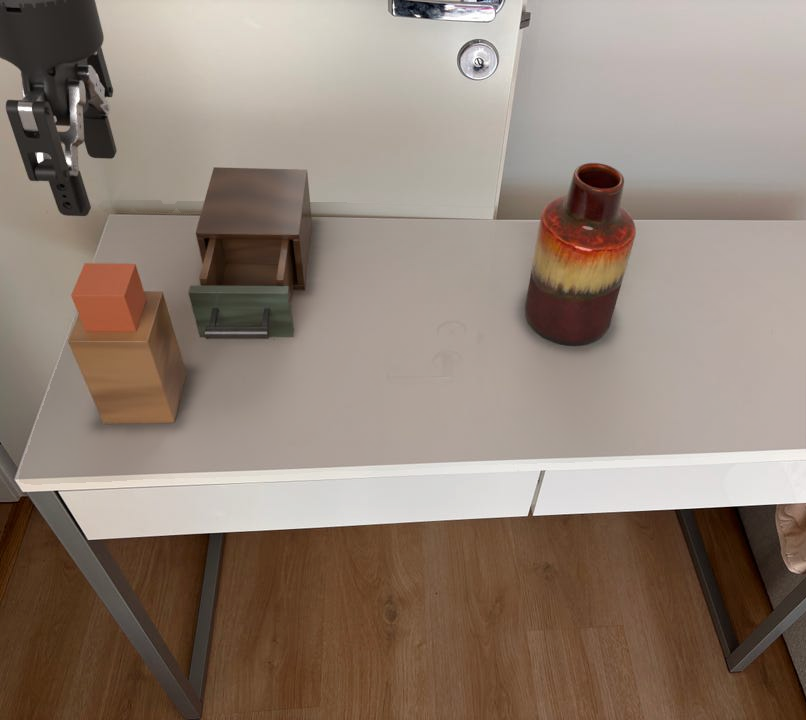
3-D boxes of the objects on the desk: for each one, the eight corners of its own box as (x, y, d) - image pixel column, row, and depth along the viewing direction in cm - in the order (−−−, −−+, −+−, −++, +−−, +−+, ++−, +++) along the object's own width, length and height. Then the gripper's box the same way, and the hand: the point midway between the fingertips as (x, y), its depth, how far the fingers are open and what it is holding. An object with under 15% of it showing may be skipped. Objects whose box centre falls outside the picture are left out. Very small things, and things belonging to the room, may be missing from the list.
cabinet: (305, 290, 94) (299, 234, 88) (208, 289, 92) (195, 232, 86) (312, 224, 103) (307, 169, 97) (224, 222, 102) (213, 167, 95)
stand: (174, 423, 78) (147, 341, 70) (103, 424, 77) (67, 341, 69) (186, 373, 83) (162, 291, 74) (119, 373, 82) (87, 290, 73)
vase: (521, 340, 91) (546, 198, 76) (527, 282, 98) (550, 143, 84) (610, 352, 91) (652, 212, 76) (609, 293, 98) (647, 155, 84)
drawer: (290, 364, 84) (284, 319, 79) (193, 364, 83) (180, 319, 78) (301, 267, 95) (296, 223, 90) (216, 266, 94) (206, 222, 89)
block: (136, 331, 70) (124, 295, 67) (85, 331, 70) (70, 295, 66) (146, 299, 73) (135, 263, 70) (98, 299, 73) (84, 262, 70)
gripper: (4, -62, 56) (66, 138, 67) (-76, 14, 46) (13, 233, 57) (112, -54, 57) (155, 142, 68) (56, 23, 47) (117, 236, 58)
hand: (90, 183), depth 63 cm, fingers open, 8 cm apart
